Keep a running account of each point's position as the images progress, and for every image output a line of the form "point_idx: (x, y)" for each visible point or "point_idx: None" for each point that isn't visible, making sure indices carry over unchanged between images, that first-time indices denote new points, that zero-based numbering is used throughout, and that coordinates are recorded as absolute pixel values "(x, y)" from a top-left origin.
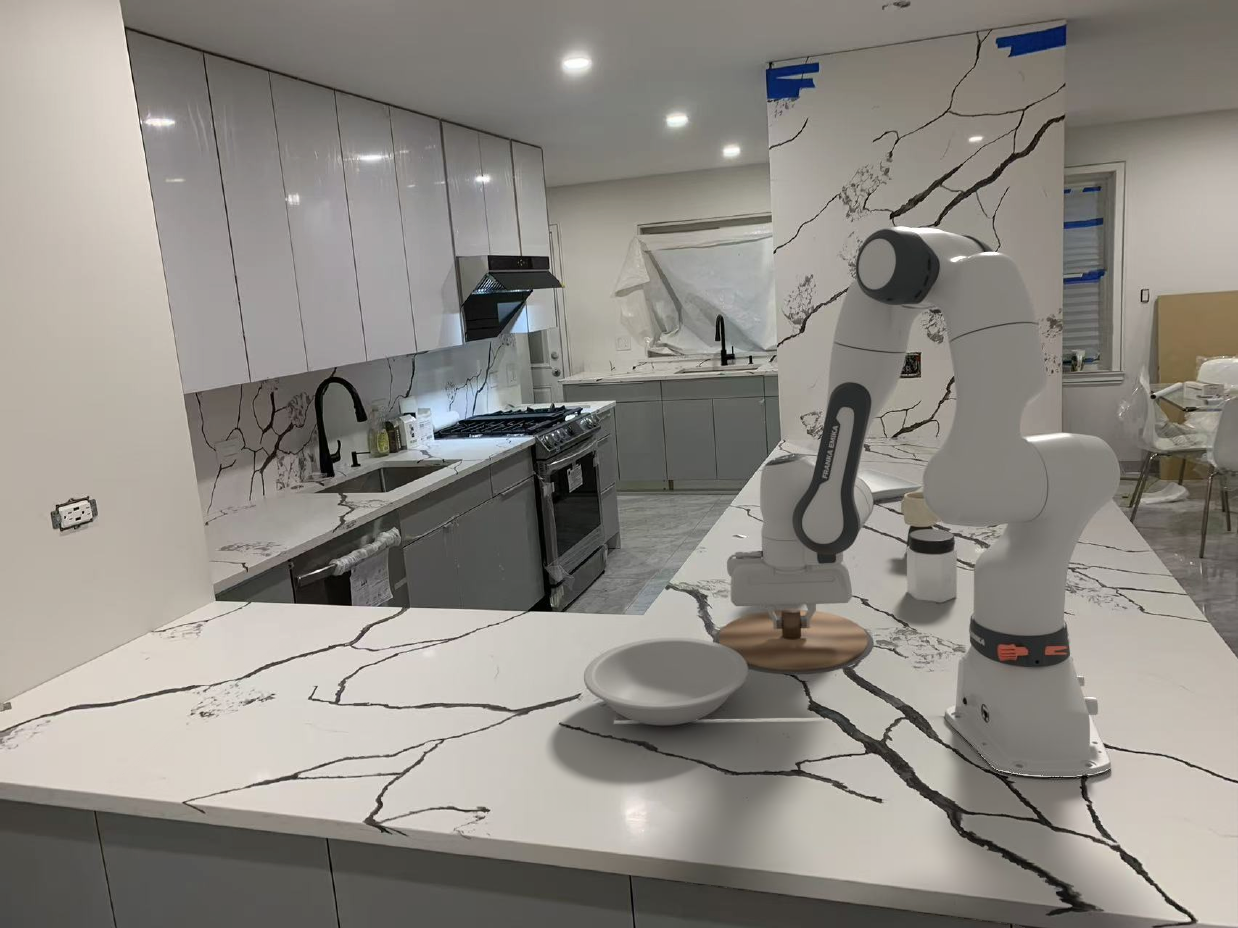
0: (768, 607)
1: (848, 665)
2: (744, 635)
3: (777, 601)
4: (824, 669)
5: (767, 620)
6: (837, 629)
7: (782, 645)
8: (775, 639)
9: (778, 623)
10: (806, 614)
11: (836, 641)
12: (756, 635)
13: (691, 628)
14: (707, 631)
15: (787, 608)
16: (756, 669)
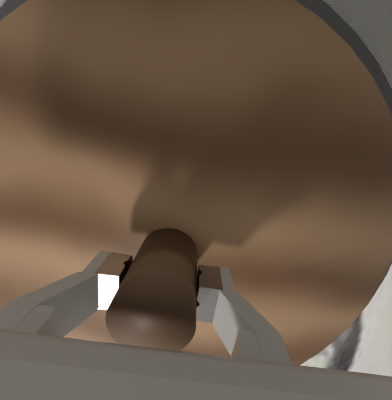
0: (277, 353)
1: (11, 4)
2: (302, 282)
3: (239, 386)
4: None
5: (212, 352)
6: (32, 269)
7: (213, 190)
8: (223, 238)
9: (213, 278)
10: (86, 303)
11: (36, 186)
12: (269, 275)
13: (386, 359)
14: (358, 339)
15: None
16: (346, 37)
